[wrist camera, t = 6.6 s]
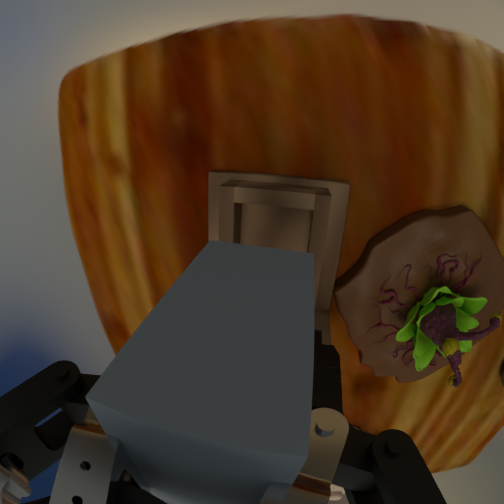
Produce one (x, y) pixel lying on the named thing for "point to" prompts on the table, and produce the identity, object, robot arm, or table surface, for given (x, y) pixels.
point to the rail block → (218, 378)
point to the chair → (284, 222)
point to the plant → (423, 294)
